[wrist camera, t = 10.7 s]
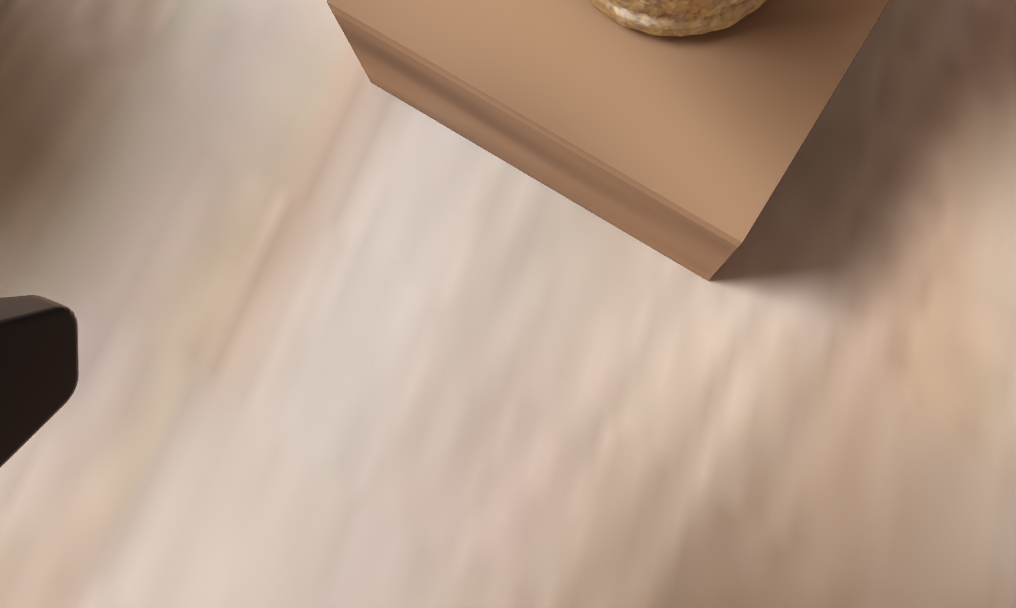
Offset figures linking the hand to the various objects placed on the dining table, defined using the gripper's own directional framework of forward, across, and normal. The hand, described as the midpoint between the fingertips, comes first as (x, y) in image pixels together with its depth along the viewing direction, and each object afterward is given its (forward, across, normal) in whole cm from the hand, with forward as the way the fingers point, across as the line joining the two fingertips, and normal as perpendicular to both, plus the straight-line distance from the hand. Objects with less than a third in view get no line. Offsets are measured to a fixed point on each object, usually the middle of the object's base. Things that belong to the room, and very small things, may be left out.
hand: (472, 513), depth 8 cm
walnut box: (+15, +3, -2) cm, 16 cm away
